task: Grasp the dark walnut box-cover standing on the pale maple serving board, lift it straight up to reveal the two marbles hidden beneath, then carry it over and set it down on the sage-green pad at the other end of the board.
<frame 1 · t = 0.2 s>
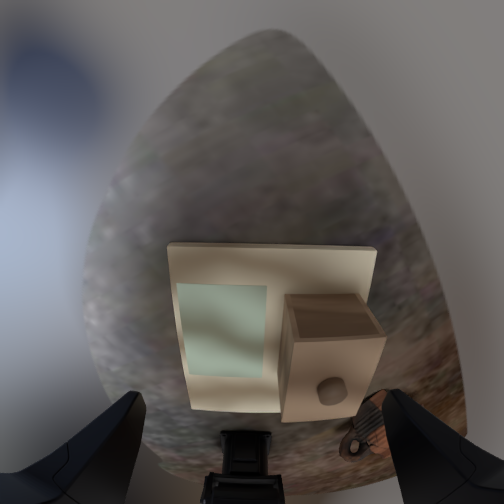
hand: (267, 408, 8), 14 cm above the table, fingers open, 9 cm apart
walnut cover: (316, 336, 23), point 1 cm above the table, touching serving board
serving board: (268, 343, 24), on the table
pottery mug: (375, 411, 29), on the table
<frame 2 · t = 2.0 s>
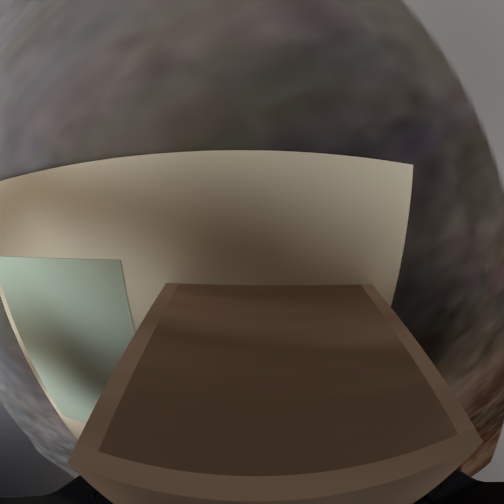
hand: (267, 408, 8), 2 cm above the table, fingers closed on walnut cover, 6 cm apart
walnut cover: (266, 387, 9), point 1 cm above the table, touching gripper, serving board
serving board: (172, 388, 11), on the table
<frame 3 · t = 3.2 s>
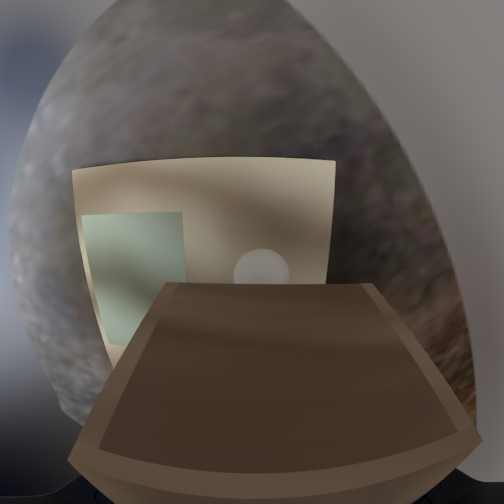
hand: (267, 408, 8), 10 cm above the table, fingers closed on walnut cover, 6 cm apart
marble ivory: (261, 265, 16), point 1 cm above the table, touching serving board
walnut cover: (266, 386, 9), point 9 cm above the table, touching gripper
serving board: (199, 304, 18), on the table
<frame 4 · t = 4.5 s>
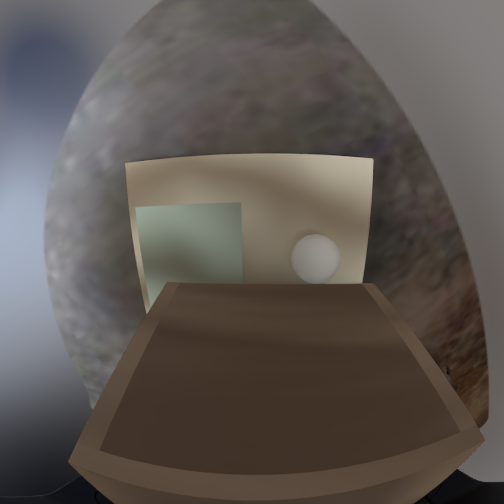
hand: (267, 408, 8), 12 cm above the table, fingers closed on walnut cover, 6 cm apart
marble ivory: (311, 250, 18), point 1 cm above the table, touching serving board
walnut cover: (267, 387, 9), point 11 cm above the table, touching gripper
serving board: (251, 289, 20), on the table
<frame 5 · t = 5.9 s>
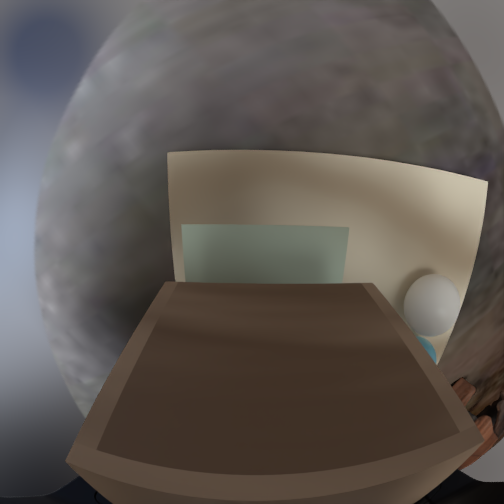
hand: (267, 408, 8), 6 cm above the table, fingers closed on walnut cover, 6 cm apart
marble ivory: (418, 291, 12), point 1 cm above the table, touching serving board
marble teal: (400, 346, 14), point 1 cm above the table, touching serving board
walnut cover: (266, 387, 9), point 5 cm above the table, touching gripper
serving board: (333, 337, 14), on the table
pottery mug: (444, 409, 18), on the table
when the fingers open (3 cm above the table, at t = 6.9 s): walnut cover stays where it is, resting on serving board.
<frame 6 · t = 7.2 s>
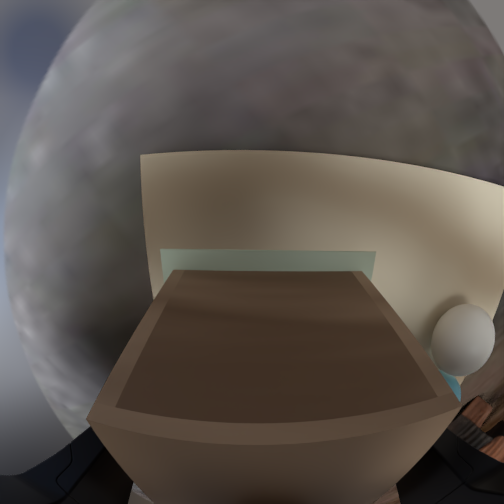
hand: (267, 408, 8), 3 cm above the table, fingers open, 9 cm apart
marble ivory: (446, 321, 10), point 1 cm above the table, touching serving board
marble teal: (420, 380, 11), point 1 cm above the table, touching serving board
walnut cover: (265, 370, 10), point 1 cm above the table, touching serving board
serving board: (347, 373, 12), on the table
pottery mug: (456, 427, 16), on the table
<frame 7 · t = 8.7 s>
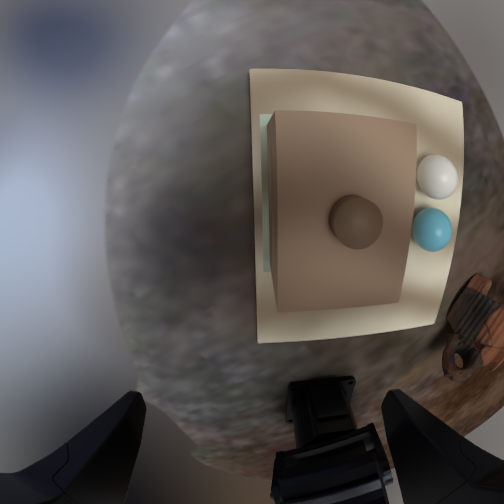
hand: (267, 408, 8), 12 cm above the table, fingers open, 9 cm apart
marble ivory: (425, 174, 16), point 1 cm above the table, touching serving board
marble teal: (421, 223, 17), point 1 cm above the table, touching serving board
walnut cover: (318, 195, 16), point 1 cm above the table, touching serving board
serving board: (369, 215, 18), on the table
pottery mug: (467, 315, 22), on the table
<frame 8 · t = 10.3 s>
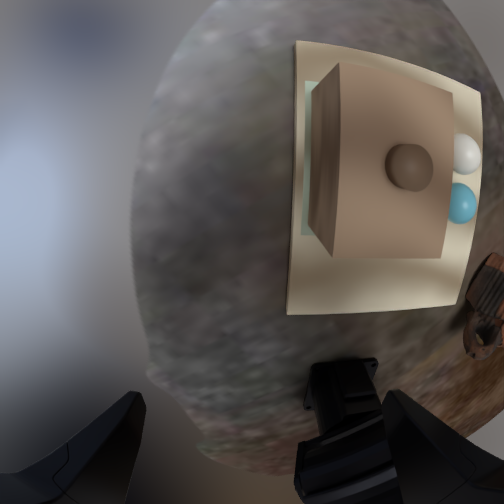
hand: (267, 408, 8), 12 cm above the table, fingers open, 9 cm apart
marble ivory: (450, 152, 15), point 1 cm above the table, touching serving board
marble teal: (446, 199, 17), point 1 cm above the table, touching serving board
walnut cover: (357, 161, 16), point 1 cm above the table, touching serving board
serving board: (400, 187, 17), on the table
pottery mug: (483, 296, 21), on the table
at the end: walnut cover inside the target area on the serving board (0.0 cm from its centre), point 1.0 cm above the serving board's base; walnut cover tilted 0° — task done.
